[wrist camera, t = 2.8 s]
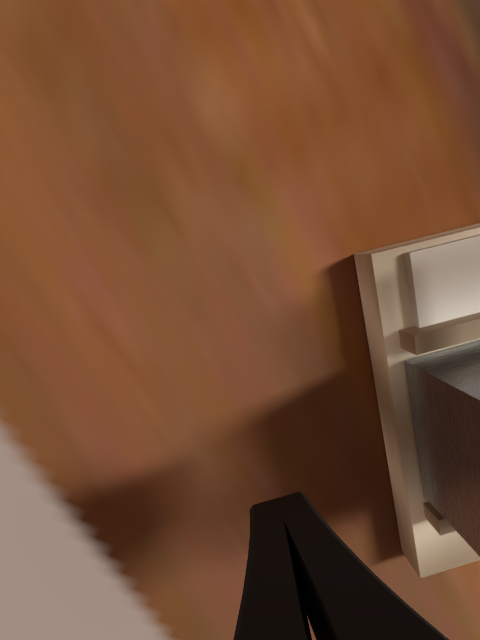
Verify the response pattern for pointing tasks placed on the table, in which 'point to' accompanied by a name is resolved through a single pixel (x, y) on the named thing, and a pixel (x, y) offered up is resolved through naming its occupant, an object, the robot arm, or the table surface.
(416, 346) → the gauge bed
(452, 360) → the gauge carriage
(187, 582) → the table surface
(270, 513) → the robot arm
